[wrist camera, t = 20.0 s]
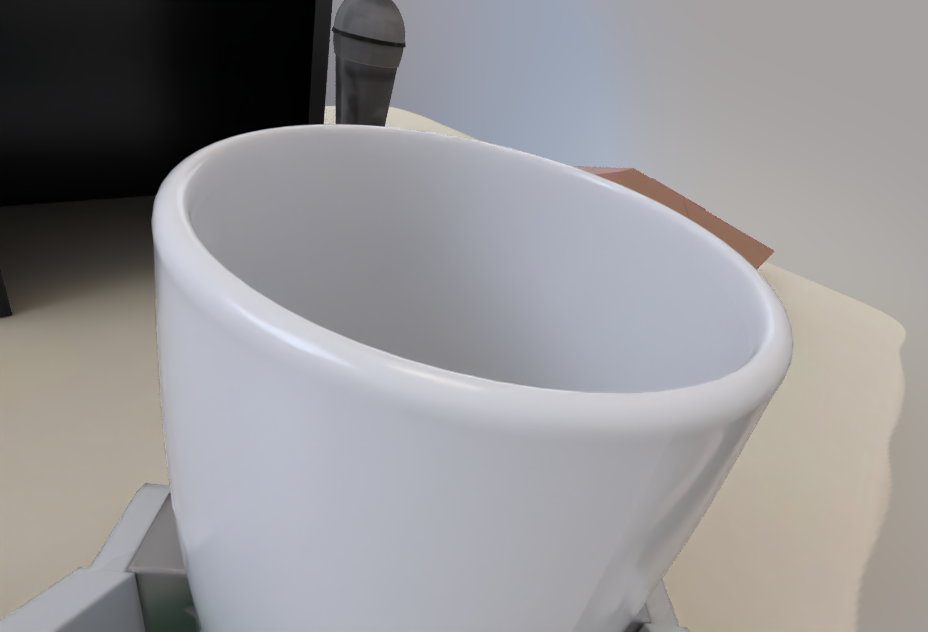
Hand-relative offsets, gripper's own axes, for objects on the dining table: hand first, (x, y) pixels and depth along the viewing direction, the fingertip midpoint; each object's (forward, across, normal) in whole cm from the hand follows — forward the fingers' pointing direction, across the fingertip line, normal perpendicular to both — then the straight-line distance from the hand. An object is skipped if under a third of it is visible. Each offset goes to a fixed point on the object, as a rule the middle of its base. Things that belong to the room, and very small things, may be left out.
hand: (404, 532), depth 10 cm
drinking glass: (-1, 0, +8) cm, 8 cm away
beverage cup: (+53, +8, +9) cm, 54 cm away
